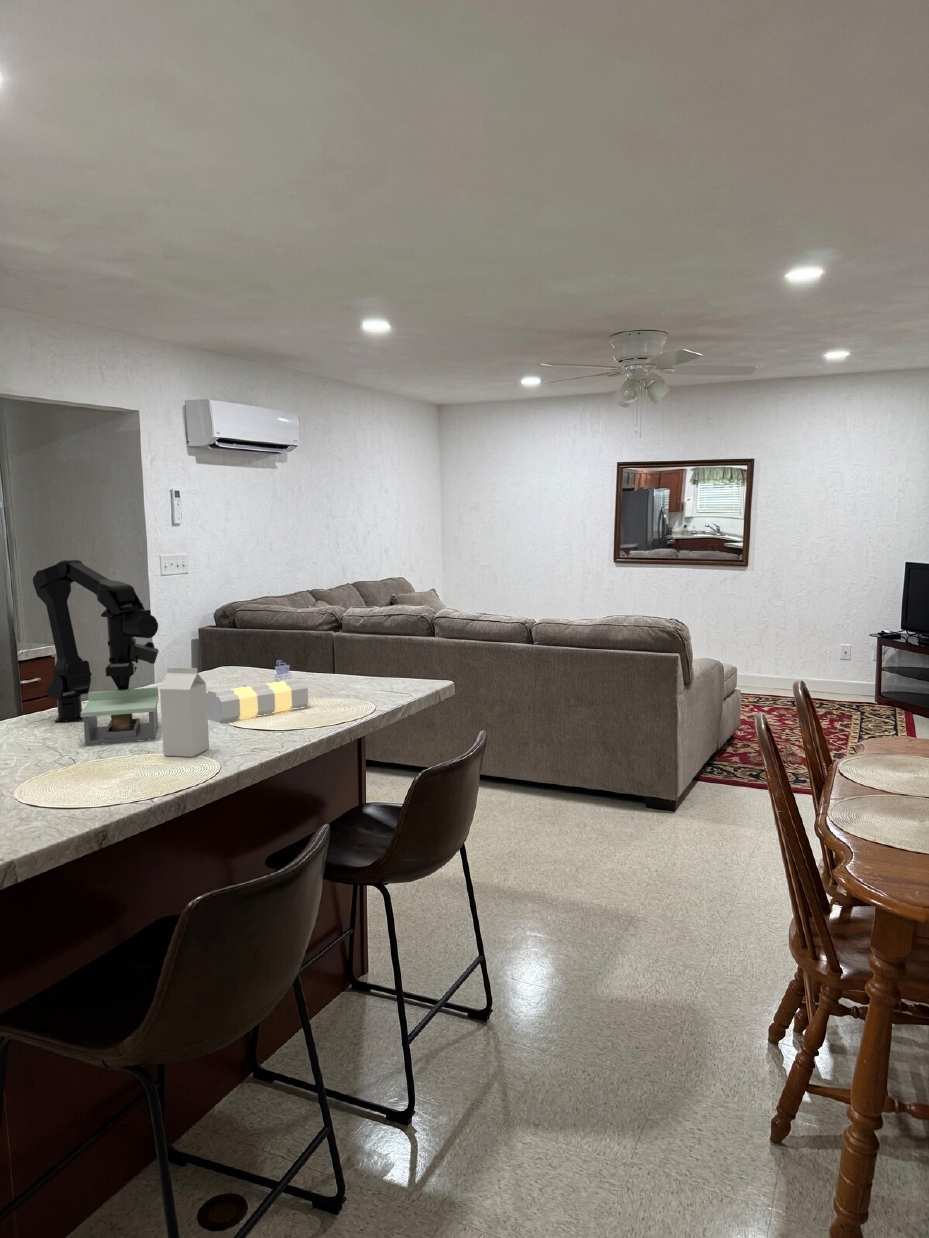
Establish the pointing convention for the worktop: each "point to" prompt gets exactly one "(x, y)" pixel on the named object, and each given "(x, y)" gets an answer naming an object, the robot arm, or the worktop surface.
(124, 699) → the lid
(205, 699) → the milk carton
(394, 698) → the worktop surface
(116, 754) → the worktop surface
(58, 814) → the worktop surface
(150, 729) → the housing
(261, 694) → the yellow banded gray prism
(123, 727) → the brown sleeve
